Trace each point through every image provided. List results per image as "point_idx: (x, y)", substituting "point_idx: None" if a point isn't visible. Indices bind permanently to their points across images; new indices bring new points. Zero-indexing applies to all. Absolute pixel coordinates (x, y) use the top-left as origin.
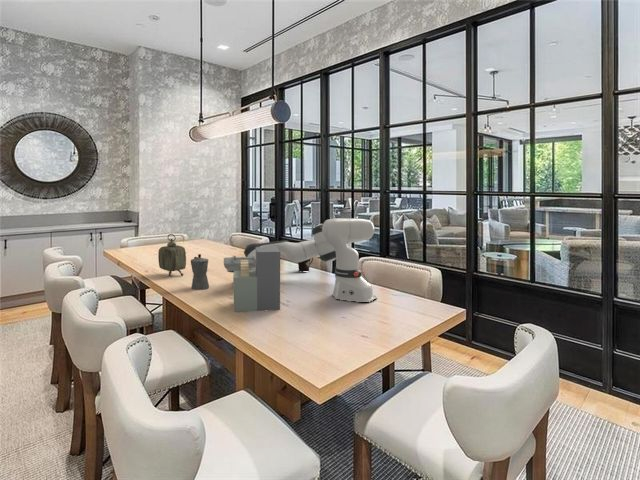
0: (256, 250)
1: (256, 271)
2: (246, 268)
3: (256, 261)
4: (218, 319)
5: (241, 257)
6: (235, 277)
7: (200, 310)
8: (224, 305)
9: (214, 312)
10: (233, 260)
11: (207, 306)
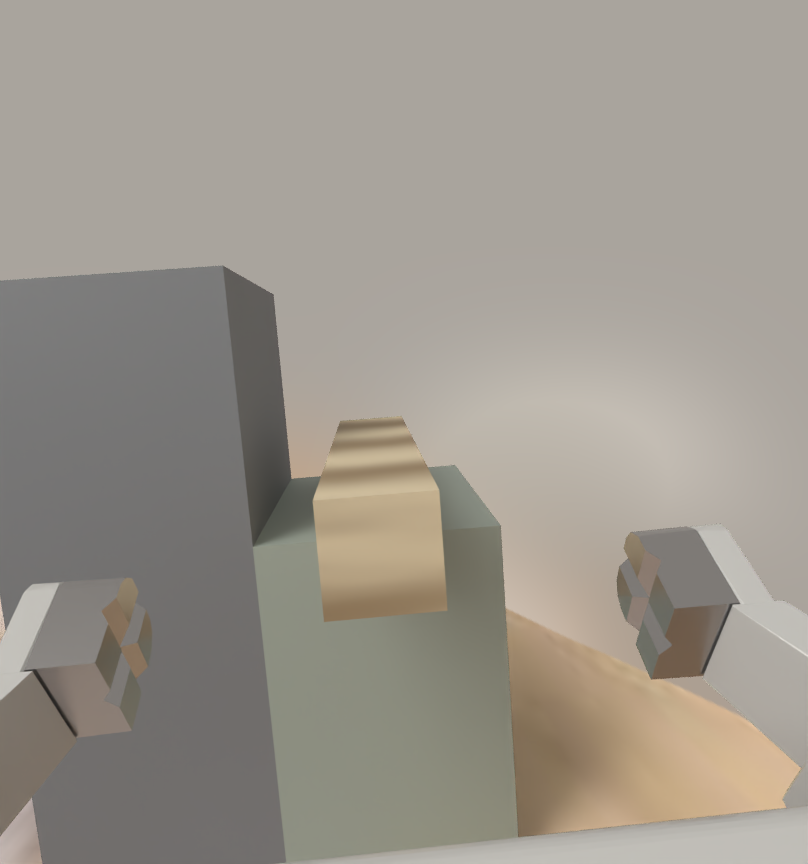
0: (260, 288)
1: (277, 474)
2: (359, 420)
3: (269, 386)
4: (528, 629)
5: (529, 837)
6: (442, 468)
7: (720, 709)
8: (587, 794)
9: (596, 688)
10: (739, 706)
11: (728, 772)
